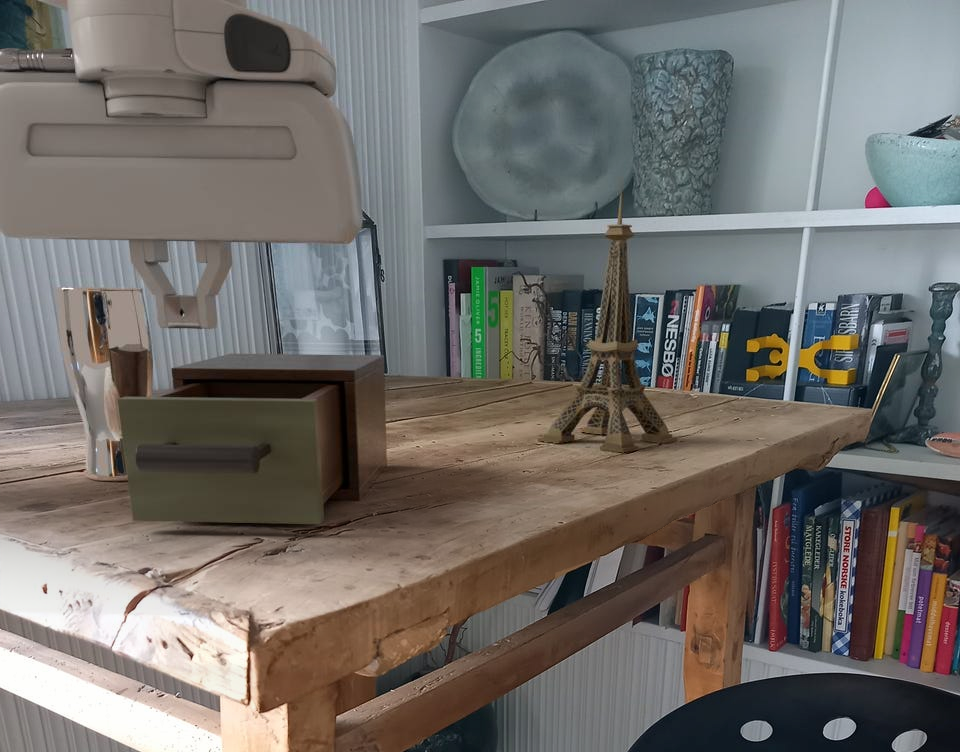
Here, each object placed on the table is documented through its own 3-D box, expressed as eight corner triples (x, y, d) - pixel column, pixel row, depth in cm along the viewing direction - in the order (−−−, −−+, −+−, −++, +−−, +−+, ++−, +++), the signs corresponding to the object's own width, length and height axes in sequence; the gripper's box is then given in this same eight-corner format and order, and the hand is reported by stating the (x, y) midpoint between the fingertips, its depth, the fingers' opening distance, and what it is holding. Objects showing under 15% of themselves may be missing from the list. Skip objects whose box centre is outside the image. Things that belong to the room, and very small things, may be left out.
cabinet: (359, 500, 71) (354, 370, 68) (184, 497, 72) (170, 368, 68) (387, 465, 85) (384, 355, 81) (239, 462, 85) (230, 353, 82)
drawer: (303, 543, 56) (295, 411, 53) (101, 539, 57) (82, 408, 54) (356, 482, 73) (352, 379, 70) (200, 479, 74) (190, 377, 71)
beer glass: (62, 480, 78) (32, 287, 72) (112, 465, 84) (88, 287, 78) (137, 484, 76) (112, 288, 71) (182, 469, 82) (162, 287, 77)
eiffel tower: (594, 430, 106) (606, 185, 97) (677, 440, 99) (698, 179, 90) (537, 441, 98) (545, 177, 89) (623, 452, 92) (640, 169, 83)
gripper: (-68, 33, 46) (-18, 327, 51) (342, 36, 45) (352, 334, 50) (0, 61, 52) (38, 322, 57) (364, 64, 51) (370, 328, 56)
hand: (188, 328), depth 54 cm, fingers closed
